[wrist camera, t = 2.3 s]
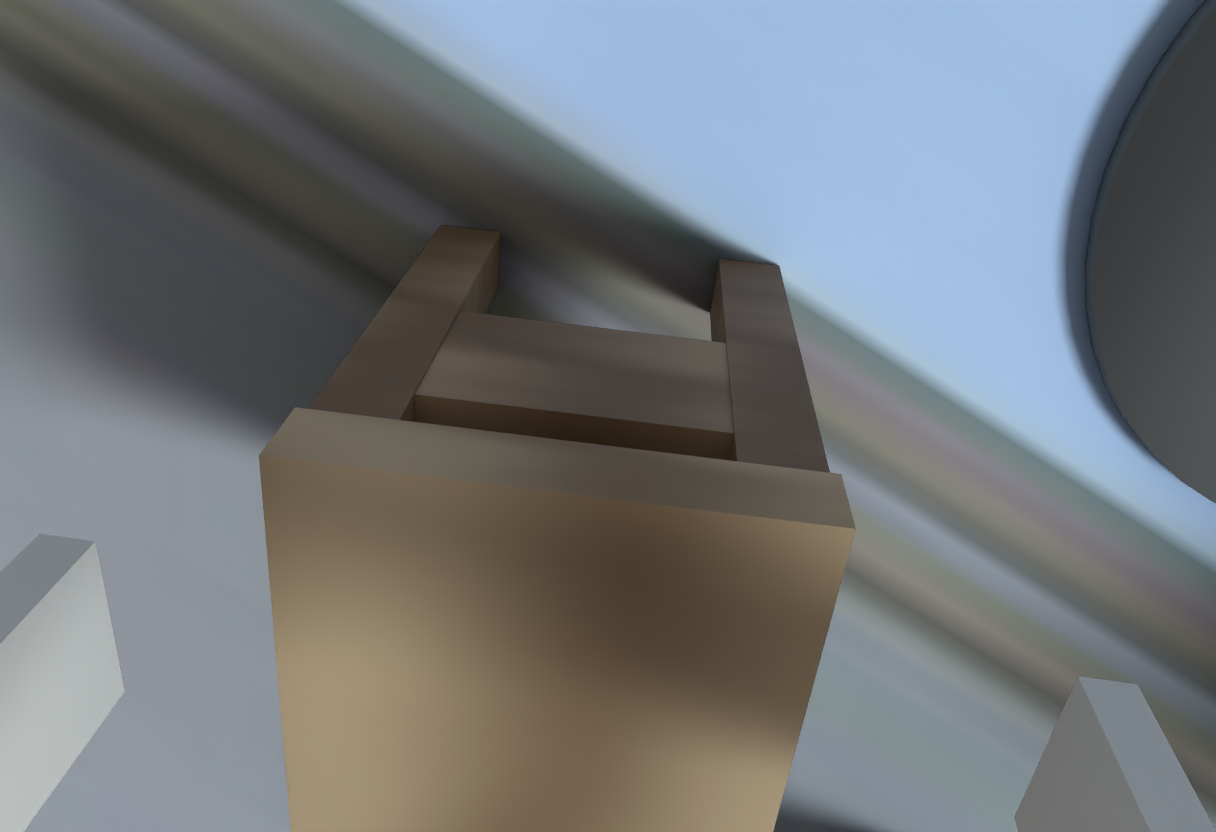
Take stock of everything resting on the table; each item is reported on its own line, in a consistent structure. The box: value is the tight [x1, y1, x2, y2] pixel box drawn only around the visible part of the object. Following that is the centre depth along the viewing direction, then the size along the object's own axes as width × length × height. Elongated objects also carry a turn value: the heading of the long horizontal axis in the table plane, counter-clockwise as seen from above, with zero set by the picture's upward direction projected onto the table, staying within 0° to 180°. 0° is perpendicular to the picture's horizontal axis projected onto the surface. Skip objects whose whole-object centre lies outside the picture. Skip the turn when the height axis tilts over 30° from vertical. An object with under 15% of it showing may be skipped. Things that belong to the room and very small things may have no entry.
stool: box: [259, 225, 855, 832], centre depth 17 cm, size 7×7×9 cm
